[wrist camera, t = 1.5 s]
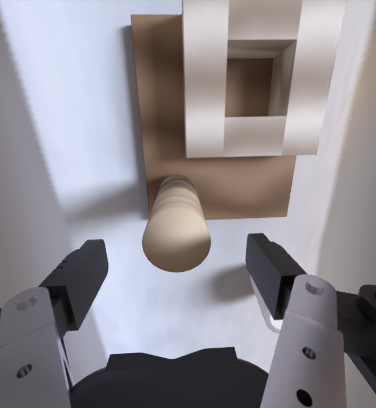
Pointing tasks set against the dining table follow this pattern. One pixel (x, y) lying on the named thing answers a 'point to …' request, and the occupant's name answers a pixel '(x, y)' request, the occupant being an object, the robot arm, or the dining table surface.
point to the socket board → (234, 97)
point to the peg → (176, 227)
